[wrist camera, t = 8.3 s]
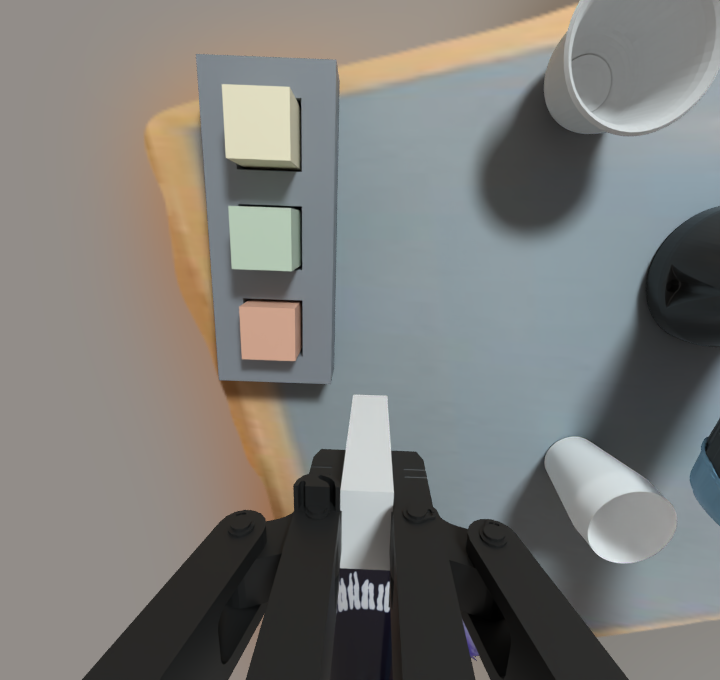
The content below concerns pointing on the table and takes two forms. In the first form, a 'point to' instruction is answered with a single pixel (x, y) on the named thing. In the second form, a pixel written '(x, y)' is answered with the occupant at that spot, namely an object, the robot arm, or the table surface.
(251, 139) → the button cream
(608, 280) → the table surface
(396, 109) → the table surface
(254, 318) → the button terracotta
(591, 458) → the cup
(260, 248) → the button sage
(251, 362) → the panel
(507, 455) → the table surface
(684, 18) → the teacup
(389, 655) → the vase
